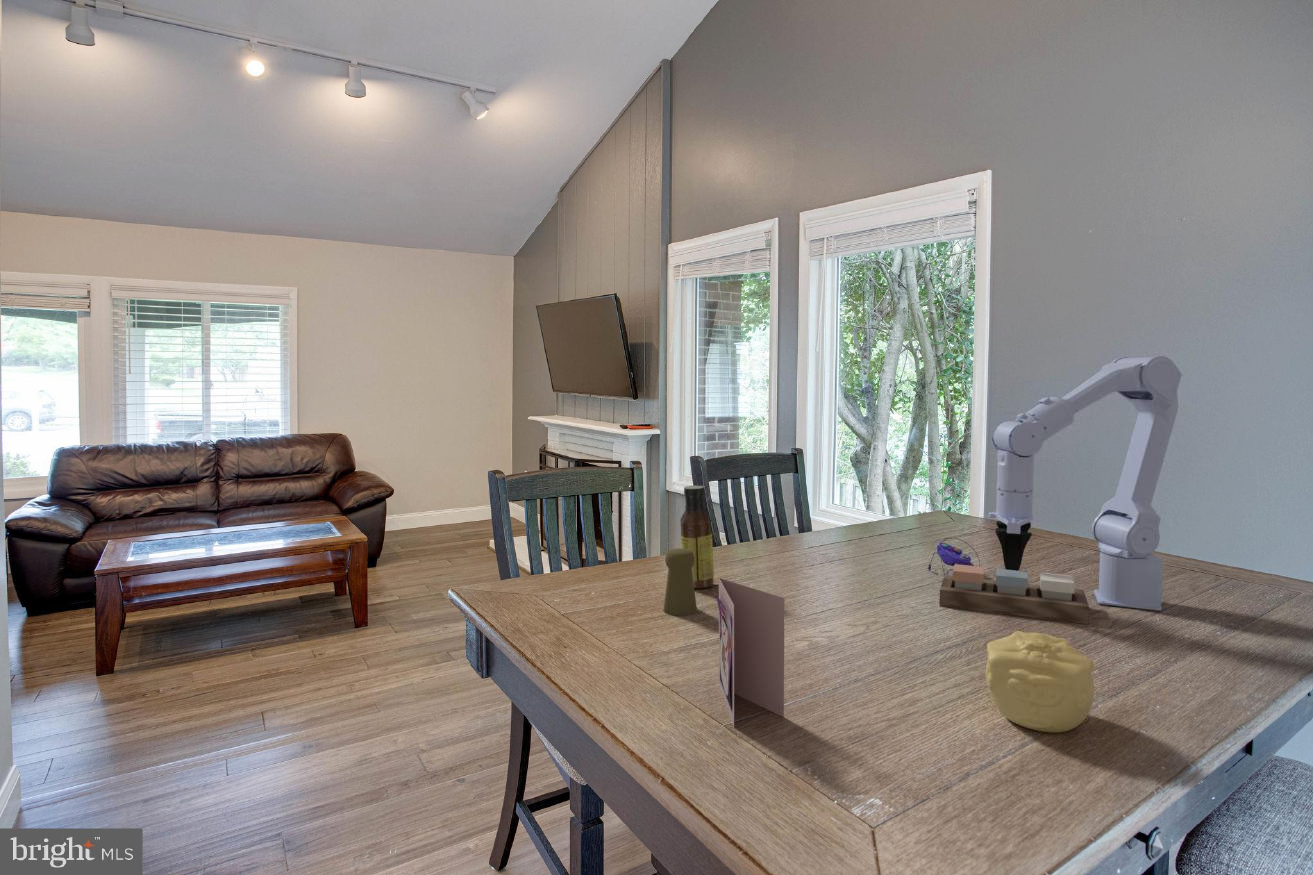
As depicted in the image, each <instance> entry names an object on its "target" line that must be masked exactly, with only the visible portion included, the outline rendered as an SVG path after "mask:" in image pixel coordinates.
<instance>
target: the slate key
mask: <svg viewBox="0 0 1313 875" xmlns="http://www.w3.org/2000/svg"><path fill="white" fill-rule="evenodd" d="M1028 573H1029V572H1028V571H1027V570H1019V571H1014V570H1006V569H1005V568H999V567H997V568H996V572H995V581H996V585H998V591H997V593H1004V594H1013V595H1022V596H1025V592H1026V589H1028V584H1029V576H1028V575H1029V574H1028Z"/></svg>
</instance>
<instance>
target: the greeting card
mask: <svg viewBox="0 0 1313 875" xmlns="http://www.w3.org/2000/svg"><path fill="white" fill-rule="evenodd" d="M713 593H714V595H715V596H714V597H715V599H716V602H717V606H718V687H720V688H719V689H720V692H721V696H722V695H723V696H722V699H723V698H724V699H723V701H724V704H725V707H726V710H727V712H728V715H729V718H730V721H731V724H732V726H733V728H735V695H736V696H738V697H740V698H742V699H745V700H746V699H747V701H748V702H751V703H753V704H755V705H757V706H759V707H761V708H764V709H766V710H767V711H770V712H771V713H774V714H776V715H778V716H780V717H782V718H784V717H785V711H784V710H785V708H784V707H785V601H786V600H785V597H782V596H779V595H777V594H773V593H769V592H766V591H763V590H760V589H757V588H753V587H751V586H746V585H744V584H740V583H737V582H734V581H730V580H727V579H724V578H721V577H718V595H717V594H716V592H715V591H713Z"/></svg>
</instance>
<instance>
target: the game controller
mask: <svg viewBox="0 0 1313 875" xmlns="http://www.w3.org/2000/svg"><path fill="white" fill-rule="evenodd" d="M950 539H951V537H948V538H946V539H944V540H942V541H940V542H939V544H938V545H937V546H936V548H935V551H934V553H933V556H932V557H931V560H930V563H929V564H928V567H927V570H928V571H930V570H931V569H932V562H933V559H934V556H935V554H937V555H938V556H939V557H940V561H941V564H945V565H947V566H951V567H953V568H952V569H948V570H947V572H946V573H945V570H944V566H943V565H941V566H942V571H943V574H944V575H946V574H948V573H949V571H953V570H954V567H955V564H958V565H969V566H975V564H973V563H972V562H971V560H972V558H971V556H969V555H968V554H965V553H963V550H962V549H960V548H959V547H956V546H952V545H951V544H949V543H946V542H945V541H947V540H950ZM954 539H957V540H959V541H962V542H964V543H965V544H967V545H968V546H969V547H970V548H972V550H973V551H974V552H975V554H976V556H977V558H978V562H979V564H981V560H980V558H979V555H978V553H977V552H976V551H975V549H974V548H973V547H972V546H971V545H970V544H969V543H967V541H964V540H963V539H961V538H957V537H954ZM942 562H943V563H942ZM979 567H981V565H979Z"/></svg>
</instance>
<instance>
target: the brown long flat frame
mask: <svg viewBox="0 0 1313 875" xmlns="http://www.w3.org/2000/svg"><path fill="white" fill-rule="evenodd" d="M997 591H998V585H996V580H992V579H985V578H984V583H983V584H982V591H977V590H968V589H959V588H955V581H953V575H948V574H945V575H944V576H943V579H942V582H941V585H940V588H939V600H938V601H939V604H938V605H939V607H944V608H945V607H947V608H953V609H961V610H970V611H976V612H977V611H978V612H984V613H985V612H987V613H994V614H1003V615H1011V616H1018V617H1025V618H1026V617H1027V618H1034V619H1042V620H1050V621H1056V622H1058V621H1059V622H1068V623H1075V624H1081V625H1082V624H1083V625H1089V616H1090V615H1089V613H1090V612H1089V610H1090V609H1089V608H1090V606H1089V603H1088V600H1087V596H1086V593H1085V590H1084V589H1079V588H1078V589H1077V588H1074V594H1072V601H1066V600H1057V599H1048V598H1042V593H1041V589H1040V584H1030V583H1028V589H1026V592H1025V596H1022V595H1013V594H1004V593H997Z"/></svg>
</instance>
